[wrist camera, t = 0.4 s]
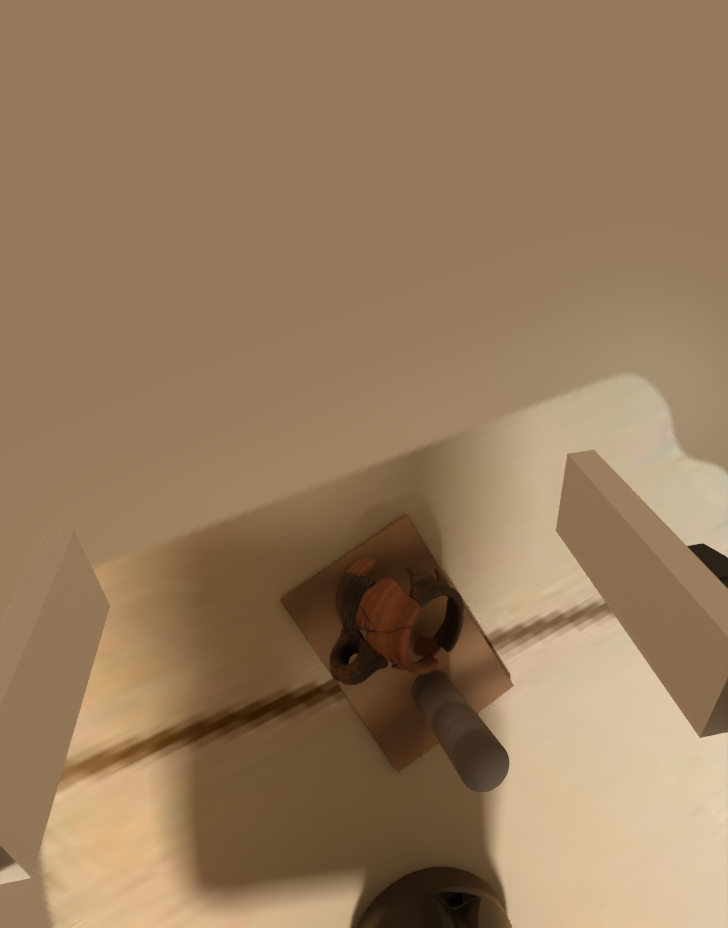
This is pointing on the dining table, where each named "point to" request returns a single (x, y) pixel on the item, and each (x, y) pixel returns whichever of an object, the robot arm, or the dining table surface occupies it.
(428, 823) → the dining table surface
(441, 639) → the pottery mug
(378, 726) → the brown board with post
